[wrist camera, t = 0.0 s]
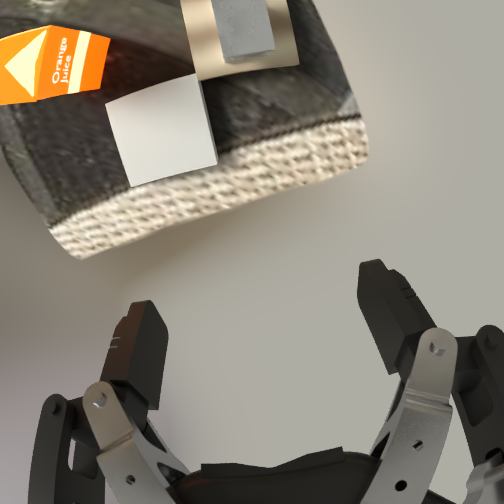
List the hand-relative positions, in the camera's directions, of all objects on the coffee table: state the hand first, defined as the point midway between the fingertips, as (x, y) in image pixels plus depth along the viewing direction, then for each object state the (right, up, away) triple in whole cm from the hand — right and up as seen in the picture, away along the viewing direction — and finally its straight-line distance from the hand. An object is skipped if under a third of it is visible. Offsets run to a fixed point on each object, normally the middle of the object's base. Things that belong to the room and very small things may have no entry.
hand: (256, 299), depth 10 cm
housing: (-2, +27, +13) cm, 30 cm away
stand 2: (-2, +29, +16) cm, 33 cm away
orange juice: (-24, +28, +15) cm, 39 cm away
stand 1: (-12, +18, +22) cm, 31 cm away
